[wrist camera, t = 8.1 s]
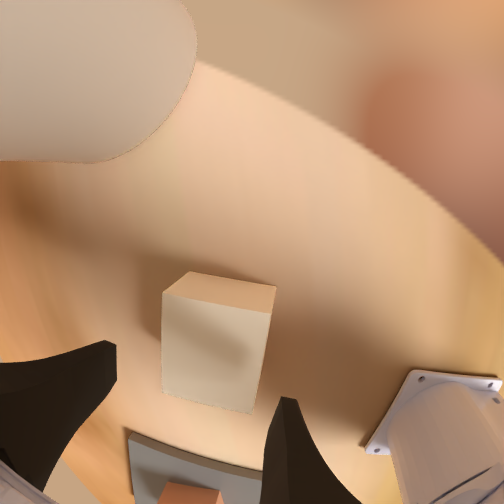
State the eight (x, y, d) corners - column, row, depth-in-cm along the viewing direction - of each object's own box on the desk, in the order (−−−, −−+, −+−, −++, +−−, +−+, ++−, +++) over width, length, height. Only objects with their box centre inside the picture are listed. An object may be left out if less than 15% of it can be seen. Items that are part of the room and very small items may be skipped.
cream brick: (276, 285, 17) (270, 313, 13) (261, 373, 18) (252, 414, 14) (190, 270, 17) (162, 292, 13) (185, 357, 19) (161, 392, 15)
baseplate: (292, 477, 20) (292, 486, 19) (254, 532, 23) (253, 538, 22) (132, 431, 21) (128, 438, 20) (138, 498, 24) (135, 503, 23)
